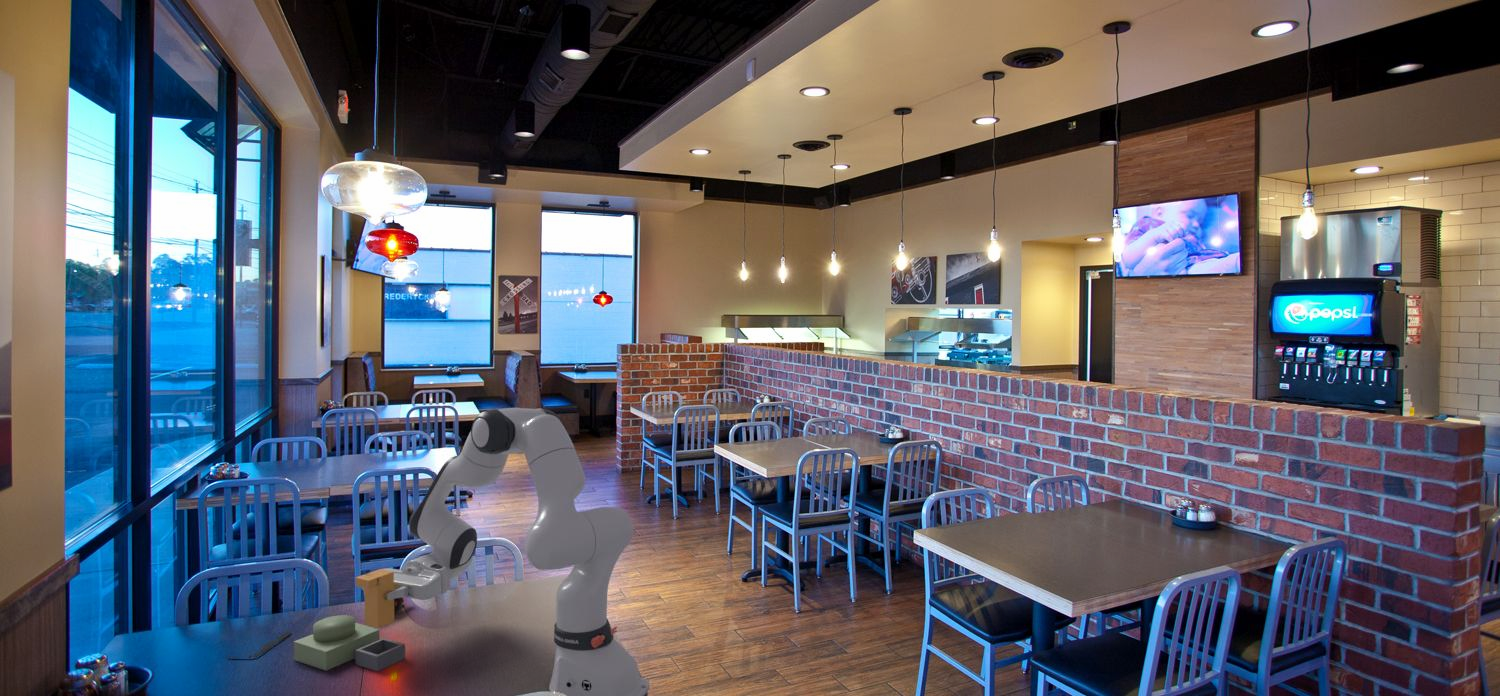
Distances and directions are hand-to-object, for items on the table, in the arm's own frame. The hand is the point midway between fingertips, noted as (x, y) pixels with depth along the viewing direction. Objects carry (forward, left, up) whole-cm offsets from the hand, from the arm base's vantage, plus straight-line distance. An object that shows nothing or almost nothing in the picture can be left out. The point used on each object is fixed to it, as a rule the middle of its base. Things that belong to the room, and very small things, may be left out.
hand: (376, 595), depth 180 cm
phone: (+34, +7, -17) cm, 39 cm away
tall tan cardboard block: (0, 0, -7) cm, 7 cm away
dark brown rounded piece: (+23, -21, -17) cm, 36 cm away
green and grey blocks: (+8, +1, -16) cm, 18 cm away
